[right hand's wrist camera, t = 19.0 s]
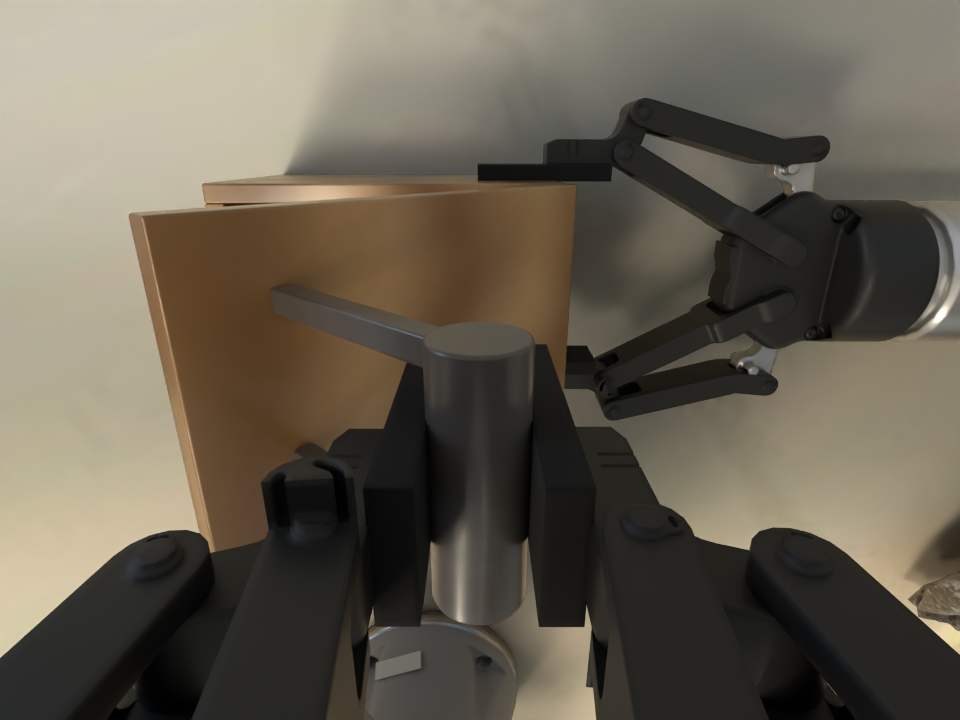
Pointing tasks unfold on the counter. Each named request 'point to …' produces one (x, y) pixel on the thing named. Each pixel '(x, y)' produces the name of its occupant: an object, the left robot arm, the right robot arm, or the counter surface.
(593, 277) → the counter surface
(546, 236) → the lid
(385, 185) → the chest
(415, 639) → the left robot arm
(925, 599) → the fossil
